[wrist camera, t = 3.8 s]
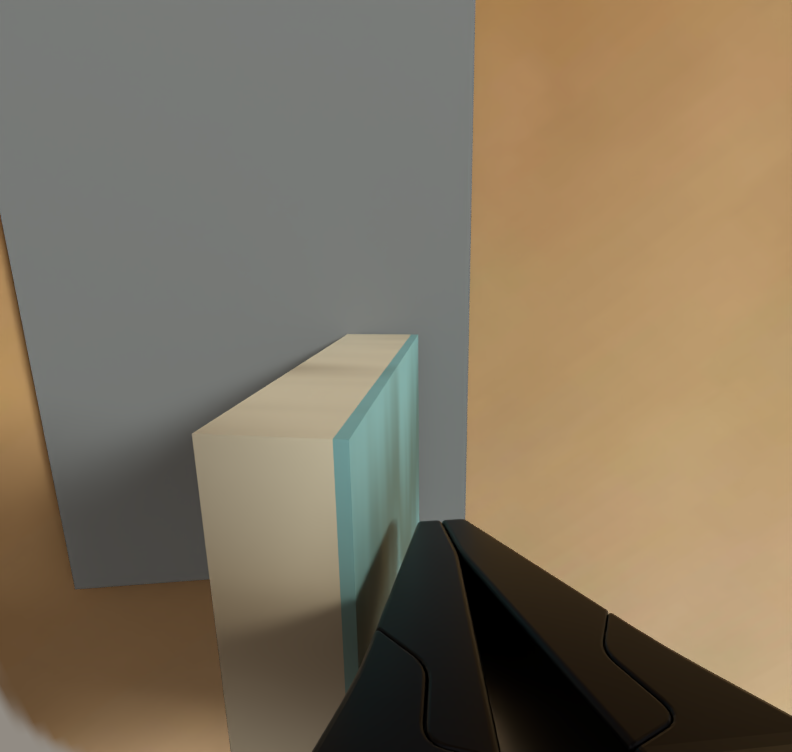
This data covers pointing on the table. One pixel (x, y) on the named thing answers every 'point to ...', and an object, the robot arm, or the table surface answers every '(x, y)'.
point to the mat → (226, 235)
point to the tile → (308, 531)
